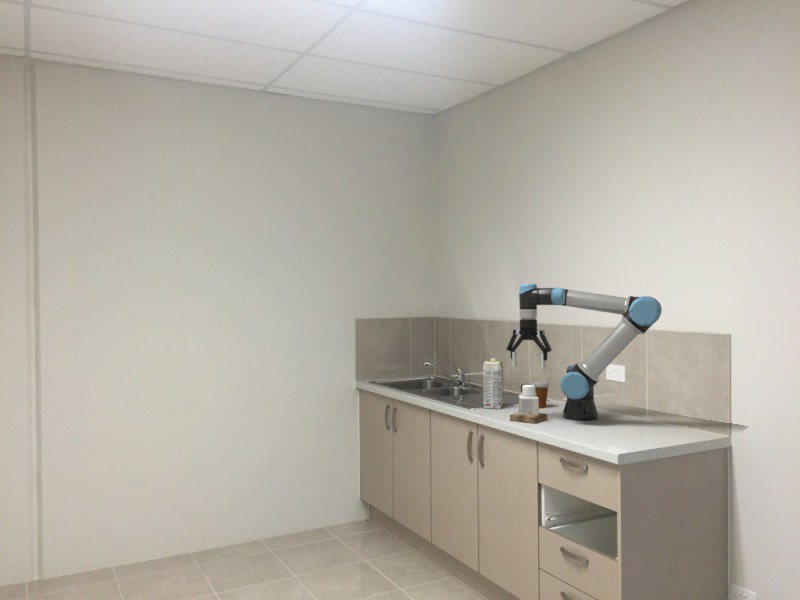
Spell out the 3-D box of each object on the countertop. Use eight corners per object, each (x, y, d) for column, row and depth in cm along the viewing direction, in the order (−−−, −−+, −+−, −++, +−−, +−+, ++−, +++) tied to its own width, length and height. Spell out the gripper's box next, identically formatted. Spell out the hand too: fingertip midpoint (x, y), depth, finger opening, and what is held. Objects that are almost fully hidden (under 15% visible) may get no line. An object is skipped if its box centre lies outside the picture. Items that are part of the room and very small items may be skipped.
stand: (547, 419, 307) (547, 413, 307) (535, 423, 298) (535, 417, 298) (522, 416, 315) (522, 410, 315) (509, 420, 305) (509, 414, 305)
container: (518, 412, 310) (518, 383, 310) (536, 412, 310) (536, 383, 310) (520, 415, 302) (520, 385, 302) (538, 415, 302) (538, 385, 302)
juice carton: (503, 407, 341) (503, 357, 340) (501, 409, 333) (501, 359, 333) (484, 406, 343) (484, 357, 343) (482, 409, 336) (482, 359, 335)
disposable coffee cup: (525, 405, 344) (525, 381, 343) (543, 405, 346) (543, 380, 346) (534, 409, 334) (534, 384, 334) (552, 408, 337) (552, 383, 336)
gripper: (558, 318, 303) (559, 367, 303) (506, 318, 317) (506, 365, 317) (551, 319, 296) (552, 369, 297) (498, 318, 311) (499, 366, 311)
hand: (528, 367), depth 307 cm, fingers open, 13 cm apart
